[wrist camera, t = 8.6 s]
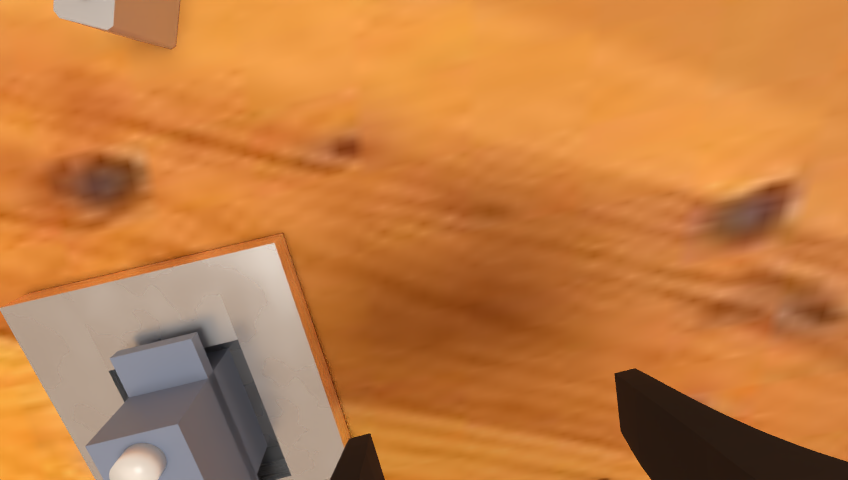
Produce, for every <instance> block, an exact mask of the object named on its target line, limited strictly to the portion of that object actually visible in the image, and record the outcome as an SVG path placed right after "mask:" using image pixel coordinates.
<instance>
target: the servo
mask: <svg viewBox="0 0 848 480" xmlns="http://www.w3.org/2000/svg"><path fill="white" fill-rule="evenodd" d="M110 360H111V362H112V364H113V366H114V368H115V370H116V372H117V374H118V376H119V378H120V380H121V382H122V384H123V387H124V389H125V391H126V393H127V395H128V397H129V398H128V399H127V400H126V402H125V403H124V404H123V405H122V406H121V407H120V408H119V409H118V410H117V412H116V413H115V414H114V415H113V416H112V417H111V418H110V419H109V420H108V421H107V423H106V424H105V425H104V426H103V427H102V428H101V429H100V430H99V431H98V433H97V434H96V435H95V436H94V437H93V438H92V439H91V440H90V441H89V443H88V444H87V445H86V446H85V447H86V449H87V451H88V453H89V454H90V456H91V458H92V460H93V462H94V463H95V465H96V467H97V469H98V471H99V472H100V474H101V476H102V478H103V480H259V479H258V476H257V473H258V470H259V468H260V465H261V462H262V459H263V456H264V454H265V451H266V448H267V442H266V440H265V437H264V435H263V432H262V430H261V427H260V425H259V422H258V420H257V417H256V415H255V412H254V410H253V407H252V405H251V402H250V400H249V397H248V395H247V392H246V390H245V387H244V385H243V382H242V380H241V377H240V375H239V372H238V370H237V368H236V365H235V363H234V360H233V358H232V355H231V353H230V350H229V348H226V349H222V350H218V351H214V352H210V353H206V352H205V350H204V348H203V345H202V343H201V340H200V338H199V336H198V333H197V332H195V333H191V334H187V335H182V336H178V337H174V338H170V339H166V340H161V341H157V342H153V343H149V344H145V345H140V346H136V347H132V348H128V349H124V350H119V351H117V352H116V353H115V354H114V355H113V356H112V357H110Z"/></svg>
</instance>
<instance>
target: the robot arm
mask: <svg viewBox="0 0 848 480" xmlns="http://www.w3.org/2000/svg"><path fill="white" fill-rule="evenodd" d="M615 382H616V391H617V401H618V410H619V419H620V428H621V432H622V434H623V436H624V438H625V439H626V441H627V443H628V445H629V446H630V448H631V450H632V451H633V453H634V455H635V456H636V458H637V460H638V461H639V463H640V465H641V466H642V467H643V469H644V470H645V472H646V473H647V474H648V476H649V477H650V478H651V480H848V462H846V461H843V460H840V459H837V458H834V457H831V456H828V455H825V454H821V453H818V452H816V451H813V450H810V449H807V448H804V447H801V446H798V445H796V444H793V443H791V442H788V441H785V440H783V439H780V438H778V437H775V436H772V435H770V434H767V433H765V432H762V431H760V430H758V429H755V428H753V427H751V426H748V425H746V424H744V423H742V422H740V421H737V420H735V419H733V418H731V417H729V416H726V415H724V414H722V413H720V412H718V411H716V410H714V409H712V408H710V407H708V406H706V405H704V404H702V403H700V402H698V401H696V400H694V399H692V398H690V397H688V396H686V395H684V394H682V393H680V392H679V391H677V390H675V389H673V388H671V387H669V386H667V385H665V384H664V383H662V382H660V381H658V380H656V379H654V378H653V377H651V376H649V375H647V374H645V373H643V372H641V371H639V370H637V369H631V370H627V371H623V372H619V373H615ZM330 480H385V479H384V476H383V472H382V469H381V466H380V463H379V460H378V457H377V453H376V450H375V447H374V444H373V441H372V438H371V434H366V435H362V436H358V437H354V438H350V439H349V440H348V442H347V443H346V445H345V448H344V450H343V452H342V454H341V457H340V459H339V461H338V463H337V465H336V467H335V469H334V472H333V474H332V476H331V478H330Z"/></svg>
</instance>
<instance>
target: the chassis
mask: <svg viewBox="0 0 848 480" xmlns="http://www.w3.org/2000/svg"><path fill="white" fill-rule="evenodd" d="M0 311H1V313H2V314H3V316H4V318H5V320H6V321H7V323H8V325H9V327H10V329H11V330H12V332H13V334H14V336H15V337H16V339H17V341H18V343H19V345H20V346H21V348H22V350H23V352H24V353H25V355H26V357H27V359H28V360H29V362H30V364H31V366H32V368H33V369H34V371H35V373H36V375H37V376H38V378H39V380H40V382H41V384H42V385H43V387H44V389H45V391H46V392H47V394H48V396H49V398H50V400H51V401H52V403H53V405H54V407H55V408H56V410H57V412H58V414H59V416H60V417H61V419H62V421H63V423H64V424H65V426H66V428H67V430H68V432H69V433H70V435H71V437H72V439H73V440H74V442H75V444H76V446H77V448H78V449H79V451H80V453H81V455H82V456H83V458H84V460H85V462H86V463H87V465H88V467H89V469H90V471H91V472H92V474H93V476H94V478H95V479H96V480H103V478H102V476H101V474H100V472H99V471H98V469H97V467H96V465H95V463H94V462H93V460H92V458H91V456H90V454H89V453H88V451H87V449H86V447H85V446H86V445H87V444H88V443H89V441H90V440H91V439H92V438H93V437H94V436H95V435H96V434H97V433H98V431H99V430H100V429H101V428H102V427H103V426H104V425H105V424H106V423H107V421H108V420H109V419H110V418H111V417H112V416H113V415H114V414H115V413H116V412H117V410H118V409H119V408H120V407H121V406H122V405H123V404H124V403H125V402H126V400H127V399H128V398H129V397H128V395H127V393H126V391H125V389H124V387H123V384H122V382H121V380H120V378H119V376H118V374H117V372H116V370H115V368H114V366H113V364H112V362H111V360H110V357H112V356H113V355H114V354H115V353H116V352H117V351H119V350H124V349H128V348H132V347H136V346H140V345H145V344H149V343H153V342H157V341H161V340H166V339H170V338H174V337H178V336H182V335H187V334H191V333H195V332H197V333H198V336H199V338H200V340H201V343H202V345H203V348H204V350H205V352H206V353H210V352H214V351H218V350H222V349H226V348H229V350H230V353H231V355H232V358H233V360H234V363H235V365H236V368H237V370H238V372H239V375H240V377H241V380H242V382H243V385H244V387H245V390H246V392H247V395H248V397H249V400H250V402H251V405H252V407H253V410H254V412H255V415H256V417H257V420H258V422H259V425H260V427H261V430H262V432H263V435H264V437H265V440H266V442H267V448H266V451H265V454H264V456H263V459H262V462H261V465H260V468H259V470H258V473H257V476H258V479H259V480H330V478H331V476H332V474H333V472H334V469H335V467H336V465H337V463H338V461H339V459H340V457H341V454H342V452H343V450H344V448H345V445H346V443H347V442H348V440H349V439H350V438H351V437H350V434H349V431H348V428H347V425H346V422H345V419H344V416H343V413H342V410H341V407H340V404H339V401H338V397H337V394H336V391H335V388H334V385H333V382H332V379H331V376H330V373H329V370H328V367H327V364H326V361H325V358H324V355H323V352H322V349H321V346H320V343H319V340H318V337H317V334H316V331H315V328H314V325H313V322H312V319H311V316H310V313H309V310H308V307H307V304H306V301H305V298H304V295H303V292H302V289H301V286H300V283H299V280H298V277H297V274H296V271H295V268H294V265H293V262H292V259H291V256H290V253H289V250H288V247H287V244H286V241H285V238H284V235H283V233H281V234H277V235H272V236H268V237H264V238H260V239H255V240H251V241H247V242H243V243H239V244H234V245H230V246H226V247H222V248H218V249H213V250H209V251H205V252H201V253H197V254H192V255H188V256H184V257H180V258H176V259H171V260H167V261H163V262H159V263H154V264H150V265H146V266H142V267H138V268H133V269H129V270H125V271H121V272H117V273H112V274H108V275H104V276H100V277H96V278H91V279H87V280H83V281H79V282H75V283H70V284H66V285H62V286H58V287H53V288H49V289H45V290H41V291H37V292H32V293H28V294H26V295H24V296H22V297H20V298H18V299H16V300H14V301H13V302H11V303H9V304H7V305H5V306H3V307H1V308H0Z"/></svg>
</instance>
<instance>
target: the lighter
mask: <svg viewBox="0 0 848 480" xmlns="http://www.w3.org/2000/svg"><path fill="white" fill-rule="evenodd" d="M179 7H180V0H54V11H55V13H56V14H57V15H58V17H59V18H62V19H65V20H69V21H72V22H76V23H79V24H82V25H86V26H89V27H93V28H96V29H100V30H103V31H107V32H110V33H113V34H117V35H120V36H124V37H127V38H131V39H134V40H138V41H142V42H145V43H149V44H153V45H157V46H161V47H165V48H169V49H172V48H173V47H175V46H176V39H177V29H178V18H179Z"/></svg>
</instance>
